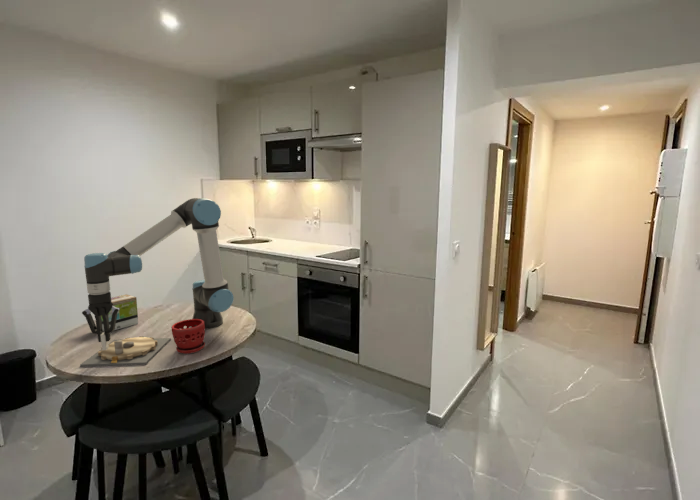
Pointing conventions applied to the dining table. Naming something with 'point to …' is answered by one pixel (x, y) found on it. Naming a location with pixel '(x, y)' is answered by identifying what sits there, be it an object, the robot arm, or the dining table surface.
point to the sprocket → (128, 348)
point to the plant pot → (189, 335)
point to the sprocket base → (138, 360)
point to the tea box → (124, 311)
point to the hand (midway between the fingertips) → (105, 348)
